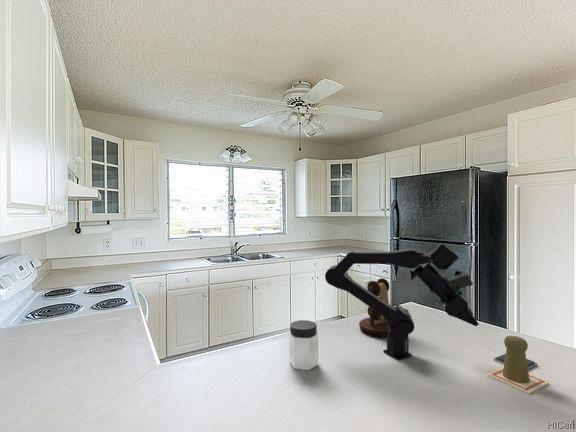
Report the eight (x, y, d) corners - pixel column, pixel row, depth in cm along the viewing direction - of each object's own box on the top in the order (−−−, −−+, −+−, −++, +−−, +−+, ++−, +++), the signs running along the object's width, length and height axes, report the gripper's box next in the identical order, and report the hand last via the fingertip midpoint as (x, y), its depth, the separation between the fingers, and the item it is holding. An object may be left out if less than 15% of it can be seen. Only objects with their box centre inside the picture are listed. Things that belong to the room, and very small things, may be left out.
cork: (519, 385, 81) (519, 343, 81) (497, 373, 87) (497, 334, 86) (535, 381, 83) (535, 340, 83) (512, 370, 88) (512, 332, 88)
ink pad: (523, 371, 88) (523, 368, 88) (493, 360, 96) (493, 357, 96) (537, 365, 92) (537, 362, 92) (508, 354, 99) (508, 351, 99)
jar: (286, 358, 98) (286, 321, 97) (310, 355, 100) (310, 318, 100) (295, 372, 89) (295, 331, 89) (321, 368, 91) (321, 328, 91)
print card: (528, 394, 78) (528, 391, 78) (487, 375, 87) (487, 373, 87) (548, 383, 82) (548, 381, 82) (507, 367, 91) (507, 365, 91)
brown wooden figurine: (385, 341, 110) (385, 286, 110) (351, 330, 121) (351, 279, 121) (405, 331, 120) (405, 279, 120) (372, 321, 131) (372, 274, 131)
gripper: (458, 268, 86) (505, 312, 82) (451, 259, 103) (490, 295, 99) (427, 294, 89) (471, 337, 85) (425, 280, 106) (462, 316, 102)
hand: (474, 320), depth 93 cm, fingers open, 9 cm apart
